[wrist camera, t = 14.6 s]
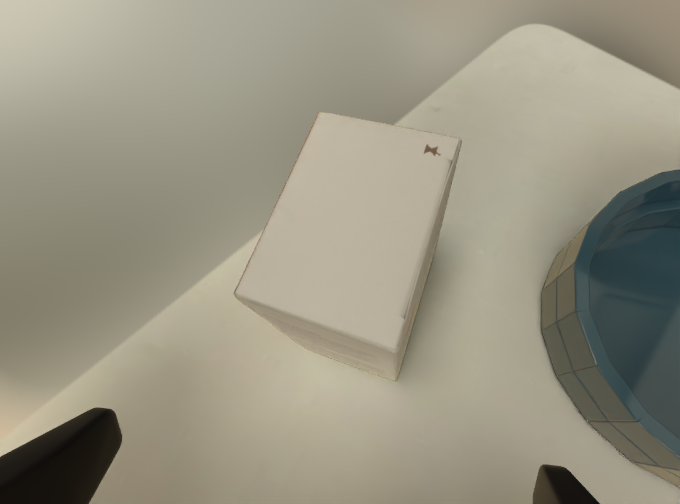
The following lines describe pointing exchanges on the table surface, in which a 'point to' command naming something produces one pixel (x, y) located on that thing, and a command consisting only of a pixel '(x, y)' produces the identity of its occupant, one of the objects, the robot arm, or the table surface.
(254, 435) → the table surface
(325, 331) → the small box
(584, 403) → the bowl
